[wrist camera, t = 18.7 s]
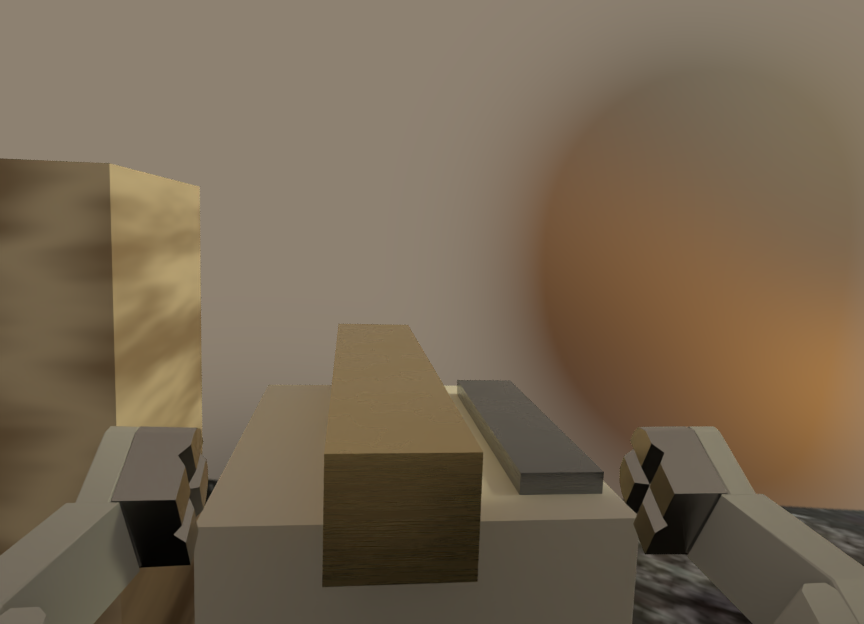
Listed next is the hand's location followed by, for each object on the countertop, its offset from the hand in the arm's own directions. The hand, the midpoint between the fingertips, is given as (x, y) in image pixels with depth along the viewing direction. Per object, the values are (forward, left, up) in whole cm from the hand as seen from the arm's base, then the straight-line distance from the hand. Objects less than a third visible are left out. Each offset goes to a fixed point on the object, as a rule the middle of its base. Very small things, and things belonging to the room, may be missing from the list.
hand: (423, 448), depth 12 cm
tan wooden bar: (0, -15, -5) cm, 16 cm away
